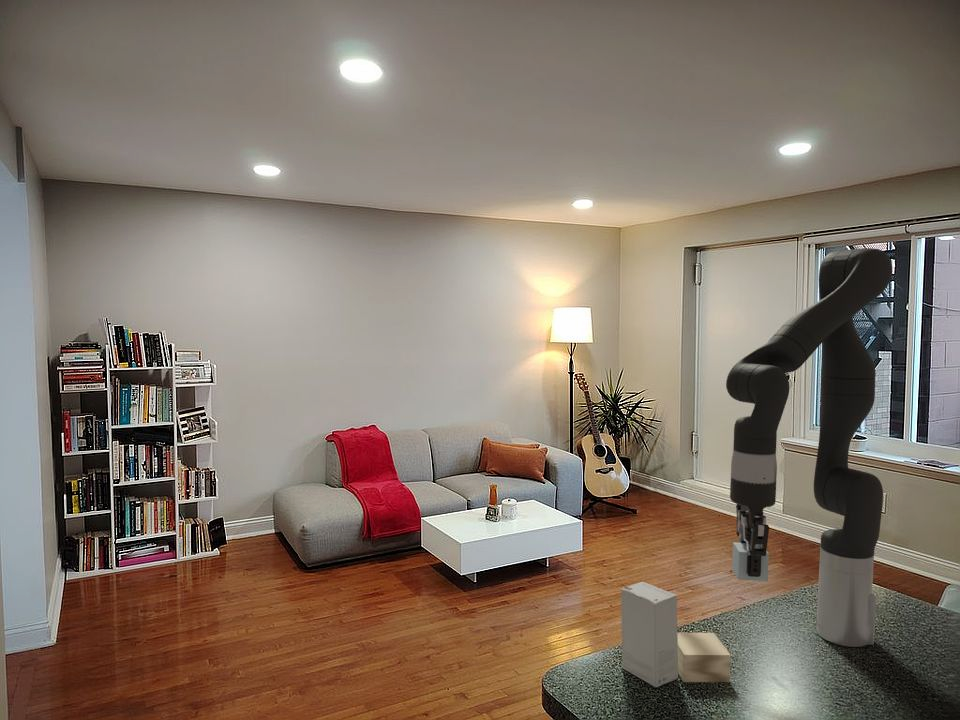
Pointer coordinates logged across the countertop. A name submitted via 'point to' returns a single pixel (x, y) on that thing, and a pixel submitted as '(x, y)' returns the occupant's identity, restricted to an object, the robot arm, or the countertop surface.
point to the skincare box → (649, 633)
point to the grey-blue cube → (741, 563)
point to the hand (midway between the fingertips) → (749, 569)
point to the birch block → (702, 658)
